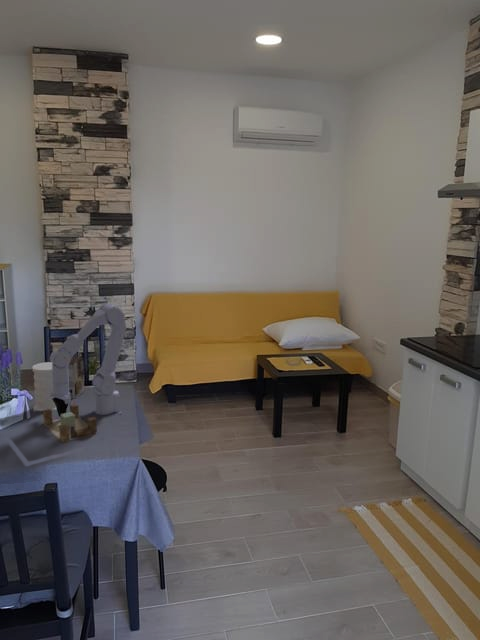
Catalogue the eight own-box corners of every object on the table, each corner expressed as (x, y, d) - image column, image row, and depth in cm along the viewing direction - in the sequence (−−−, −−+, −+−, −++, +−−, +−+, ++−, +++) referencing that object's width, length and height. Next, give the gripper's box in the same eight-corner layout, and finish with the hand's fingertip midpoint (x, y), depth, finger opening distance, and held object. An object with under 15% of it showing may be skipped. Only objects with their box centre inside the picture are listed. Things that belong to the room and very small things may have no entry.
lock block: (71, 421, 187) (71, 411, 186) (75, 425, 184) (75, 415, 183) (60, 424, 185) (60, 414, 184) (64, 427, 182) (64, 417, 181)
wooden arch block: (77, 437, 174) (76, 423, 173) (74, 434, 176) (74, 421, 175) (96, 432, 178) (96, 418, 177) (94, 429, 180) (93, 416, 179)
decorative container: (35, 404, 206) (32, 362, 203) (64, 402, 209) (62, 361, 206) (31, 414, 195) (29, 371, 192) (62, 412, 198) (61, 369, 195)
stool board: (76, 418, 194) (76, 403, 192) (98, 436, 179) (97, 420, 177) (42, 425, 186) (42, 410, 184) (62, 445, 170) (61, 428, 169)
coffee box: (71, 390, 223) (69, 356, 220) (84, 391, 223) (83, 357, 219) (61, 397, 215) (59, 361, 211) (75, 398, 214) (74, 362, 210)
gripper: (43, 378, 189) (44, 412, 192) (56, 389, 178) (58, 424, 181) (61, 375, 193) (63, 408, 196) (76, 385, 182) (77, 420, 185)
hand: (62, 415), depth 189 cm, fingers closed
